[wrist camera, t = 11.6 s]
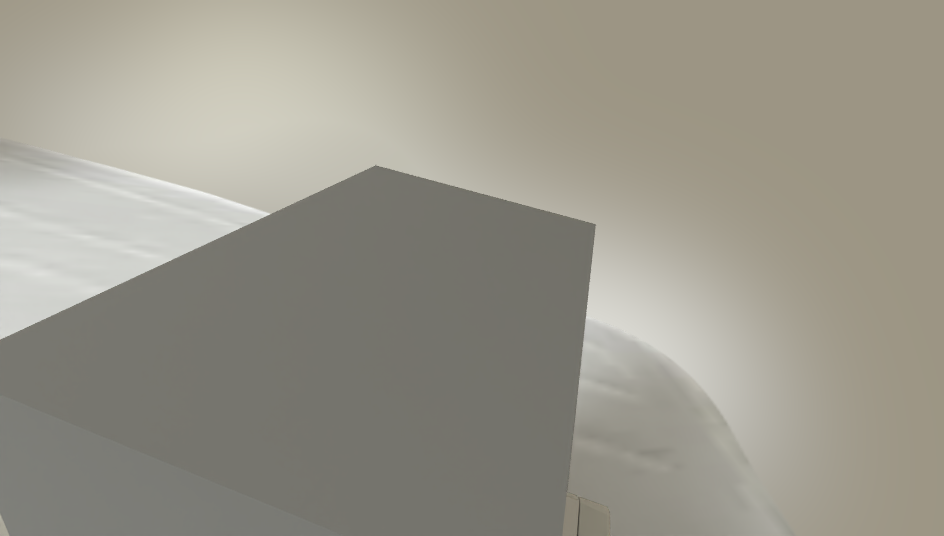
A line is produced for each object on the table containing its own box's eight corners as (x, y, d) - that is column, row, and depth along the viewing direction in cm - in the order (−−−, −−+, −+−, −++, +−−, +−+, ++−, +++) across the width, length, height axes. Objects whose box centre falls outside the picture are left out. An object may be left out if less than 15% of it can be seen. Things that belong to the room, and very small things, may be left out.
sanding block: (382, 970, 7) (554, 622, 3) (137, 831, 8) (-63, 368, 3) (489, 547, 13) (595, 224, 9) (345, 490, 14) (375, 165, 9)
